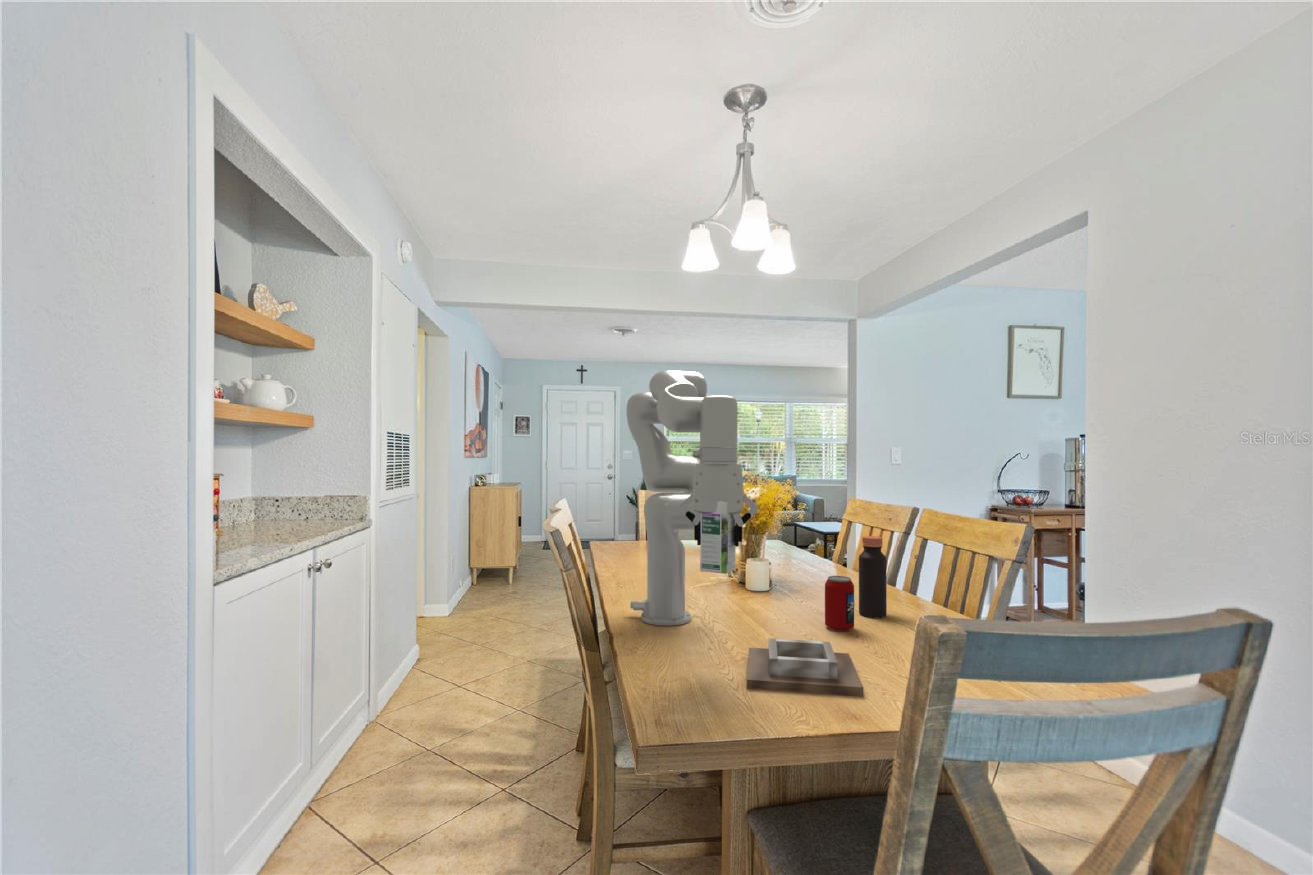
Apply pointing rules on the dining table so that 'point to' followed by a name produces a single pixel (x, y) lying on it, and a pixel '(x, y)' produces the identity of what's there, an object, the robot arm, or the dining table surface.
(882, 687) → the dining table surface
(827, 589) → the beverage can
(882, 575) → the bottle
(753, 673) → the collar board
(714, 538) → the syrup box
